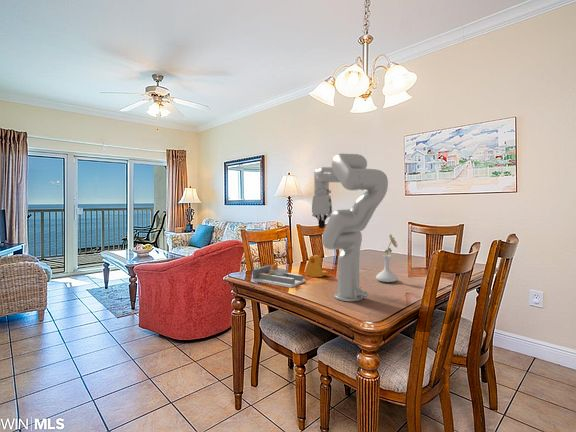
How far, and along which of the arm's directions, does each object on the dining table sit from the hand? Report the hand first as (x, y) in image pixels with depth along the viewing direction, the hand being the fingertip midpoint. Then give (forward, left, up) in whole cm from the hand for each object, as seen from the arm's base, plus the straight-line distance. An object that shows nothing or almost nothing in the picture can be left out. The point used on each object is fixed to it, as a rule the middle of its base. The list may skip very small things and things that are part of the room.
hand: (321, 227), depth 164 cm
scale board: (+21, +10, -29) cm, 37 cm away
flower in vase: (-28, -22, -29) cm, 46 cm away
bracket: (+10, -12, -29) cm, 33 cm away
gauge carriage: (+21, +10, -28) cm, 36 cm away
